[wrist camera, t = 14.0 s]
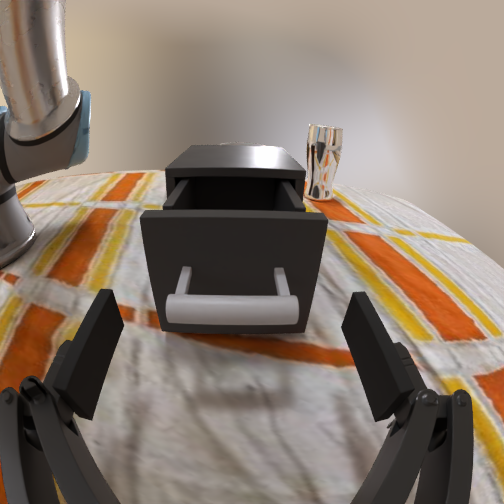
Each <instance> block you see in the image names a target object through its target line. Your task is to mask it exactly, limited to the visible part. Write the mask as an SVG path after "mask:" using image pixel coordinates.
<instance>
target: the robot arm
mask: <svg viewBox="0 0 504 504" xmlns="http://www.w3.org/2000/svg"><path fill="white" fill-rule="evenodd" d="M65 3H66V0H0V86H1V89H2V92H3V94H4V97H5V100H6V102H7V105H8V109H7V107H5V106H0V268H2V267H4V266H6V265H8V264H9V263H11V262H12V261H14V260H15V259H17V258H18V257H20V256H21V255H22V254H23V253H24V252H26V251H27V250H28V249H29V248H30V246H31V245H32V244H33V242H34V241H35V239H36V233H35V229H34V225H33V224H32V222H31V219H30V216H29V215H28V213H26V212H25V210H24V208H23V206H22V205H21V203H20V201H19V199H18V197H17V193H16V188H15V183H17V182H20V181H23V180H26V179H29V178H32V177H36V176H39V175H42V174H46V173H49V172H53V171H57V170H62V169H68V168H69V167H71V166H75V165H78V164H81V163H83V162H84V161H85V160H86V159H87V157H88V153H89V128H90V106H91V94H90V92H88V91H83V90H82V91H80V89H79V85H78V84H77V82H76V81H75V80H74V79H72V78H71V77H69V76H67V66H66V52H65ZM123 327H124V323H123V320H122V318H121V315H120V312H119V309H118V306H117V303H116V300H115V296H114V293H113V290H111V289H100V291H99V293H98V294H97V296H96V298H95V300H94V301H93V303H92V305H91V307H90V309H89V310H88V312H87V314H86V316H85V318H84V320H83V321H82V323H81V325H80V327H79V329H78V331H77V333H76V335H75V337H74V339H73V341H70V340H66V341H65V342H64V343H63V344H62V345H61V346H60V347H59V349H58V351H57V353H56V356H55V358H54V360H53V363H52V364H51V366H50V368H49V370H48V373H47V375H46V377H45V379H44V382H43V383H42V382H41V381H40V380H39V379H38V378H37V377H36V376H28V377H26V378H24V379H23V381H22V382H21V384H20V387H19V392H20V393H17V391H16V390H15V389H13V388H12V387H7V388H5V389H4V390H3V391H2V392H1V394H0V460H1V468H2V476H3V482H4V488H5V493H6V498H7V502H8V504H60V502H59V499H58V495H57V491H56V488H55V484H54V480H53V475H54V478H55V480H56V482H57V484H58V486H59V488H60V490H61V492H62V494H63V496H64V498H65V500H66V502H67V504H120V502H119V501H118V499H117V498H116V496H115V495H114V493H113V492H112V490H111V489H110V487H109V485H108V484H107V482H106V480H105V479H104V477H103V475H102V474H101V472H100V470H99V468H98V467H97V465H96V463H95V461H94V459H93V457H92V456H91V454H90V452H89V450H88V448H87V446H86V444H85V442H84V439H83V437H82V435H81V433H80V431H79V429H78V426H77V424H76V422H75V420H74V418H73V413H74V412H75V413H76V414H77V415H78V416H79V417H81V418H85V419H88V420H92V419H93V416H94V412H95V409H96V406H97V402H98V399H99V396H100V392H101V389H102V386H103V383H104V380H105V377H106V374H107V371H108V368H109V365H110V362H111V359H112V357H113V354H114V351H115V348H116V346H117V343H118V340H119V338H120V335H121V332H122V330H123ZM341 328H342V331H343V334H344V336H345V339H346V341H347V344H348V347H349V349H350V352H351V355H352V357H353V360H354V363H355V365H356V368H357V371H358V374H359V376H360V379H361V382H362V385H363V388H364V391H365V393H366V396H367V399H368V402H369V405H370V408H371V411H372V414H373V417H374V420H375V422H377V421H381V420H385V419H388V418H389V417H390V416H391V415H392V414H393V413H394V415H395V417H396V418H395V419H394V420H393V421H392V422H391V423H390V424H389V425H388V426H387V428H389V427H391V428H390V430H389V432H388V435H387V437H386V439H385V441H384V444H383V446H382V448H381V450H380V452H379V454H378V456H377V458H376V460H375V462H374V464H373V466H372V468H371V470H370V472H369V473H368V475H367V477H366V479H365V481H364V482H363V484H362V486H361V487H360V489H359V491H358V492H357V494H356V496H355V497H354V499H353V500H352V502H351V504H405V502H406V500H407V498H408V496H409V494H410V492H411V490H412V487H413V485H414V483H415V480H416V478H417V476H418V473H419V471H420V477H419V482H418V487H417V492H416V497H415V501H414V504H469V498H470V490H471V481H472V470H473V445H474V436H473V411H472V400H471V397H470V395H469V393H467V392H466V391H465V390H462V389H460V390H457V391H455V392H454V393H453V394H452V395H438V394H437V393H436V392H435V391H433V390H431V389H427V387H426V386H425V384H424V381H423V379H422V377H421V375H420V373H419V371H418V369H417V367H416V365H414V361H413V359H412V358H411V356H410V354H409V352H408V350H407V348H406V347H405V346H404V345H402V344H401V343H400V342H398V343H393V342H392V340H391V338H390V336H389V334H388V333H387V331H386V329H385V327H384V325H383V323H382V321H381V319H380V318H379V316H378V314H377V312H376V310H375V308H374V307H373V305H372V303H371V301H370V300H369V298H368V296H367V294H366V293H365V292H353V294H352V297H351V300H350V303H349V306H348V309H347V312H346V315H345V318H344V320H343V323H342V326H341ZM420 468H421V470H420ZM52 473H53V475H52Z"/></svg>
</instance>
